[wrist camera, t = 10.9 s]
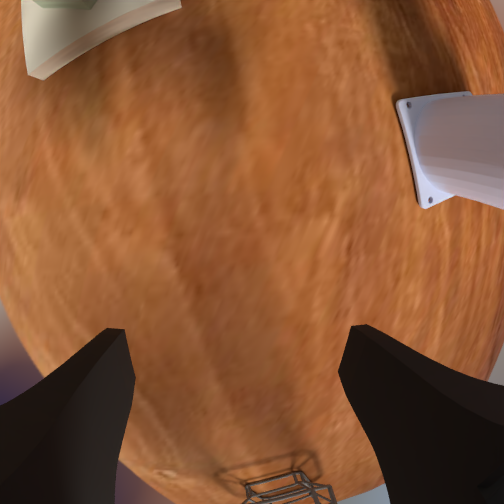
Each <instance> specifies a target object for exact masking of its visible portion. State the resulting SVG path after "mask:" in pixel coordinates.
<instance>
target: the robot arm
mask: <svg viewBox="0 0 504 504" xmlns="http://www.w3.org/2000/svg"><path fill="white" fill-rule="evenodd" d="M407 103H408V105H409V108H408V107H407ZM396 109H397V112H398V115H399V118H400V122H401V125H402V129H403V132H404V136H405V140H406V144H407V148H408V152H409V156H410V161H411V165H412V170H413V175H414V180H415V185H416V191H417V196H418V203H419V206H420V207H421V208H424V209H427V208H429V207H431V206H433V205H435V204H438V203H440V202H442V201H444V200H446V199H448V198H451V197H453V196H455V195H457V196H461V197H464V198H468V199H471V200H475V201H478V202H482V203H485V204H488V205H491V206H495V207H498V208H501V209H504V94H487V95H472V94H471V92H469V91H465V92H453V93H443V94H435V95H427V96H419V97H413V98H406V99H400V100H398V101H397V102H396ZM429 198H430V200H429V202H428V199H429ZM338 373H339V377H340V380H341V383H342V386H343V388H344V391H345V394H346V396H347V398H348V400H349V402H350V404H351V406H352V408H353V410H354V412H355V414H356V416H357V418H358V420H359V421H360V423H361V425H362V427H363V429H364V431H365V433H366V435H367V437H368V439H369V440H370V442H371V445H372V447H373V449H374V451H375V454H376V456H377V459H378V462H379V465H380V468H381V471H382V474H383V477H384V480H385V484H386V487H387V491H388V495H389V499H390V504H504V386H502V385H498V384H493V383H490V382H486V381H483V380H479V379H476V378H473V377H470V376H468V375H465V374H463V373H460V372H457V371H455V370H453V369H450V368H448V367H446V366H444V365H442V364H440V363H438V362H436V361H434V360H432V359H430V358H428V357H426V356H424V355H422V354H420V353H418V352H417V351H415V350H413V349H411V348H410V347H408V346H406V345H404V344H402V343H401V342H399V341H397V340H395V339H394V338H392V337H390V336H388V335H387V334H385V333H383V332H381V331H379V330H377V329H376V328H374V327H371V326H369V325H367V324H365V325H356V326H351V329H350V332H349V336H348V340H347V343H346V347H345V350H344V353H343V357H342V360H341V363H340V366H339V370H338ZM135 378H136V377H135V374H134V370H133V366H132V362H131V357H130V353H129V349H128V344H127V339H126V334H125V329H113V328H106V329H105V330H103V331H102V332H101V333H99V334H98V335H97V336H96V337H95V338H93V339H92V340H91V341H90V342H89V343H87V344H86V345H85V346H84V347H83V348H82V349H80V350H79V351H78V352H77V353H75V354H74V355H73V356H72V357H71V358H69V359H68V360H67V361H66V362H65V363H63V364H62V365H61V366H60V367H58V368H57V369H56V370H54V371H53V372H52V373H50V374H49V375H48V376H46V377H45V378H44V379H43V380H41V381H40V382H39V383H37V384H36V385H34V386H33V387H31V388H30V389H28V390H27V391H25V392H24V393H22V394H20V395H19V396H17V397H16V398H14V399H12V400H10V401H9V402H7V403H5V404H3V405H1V406H0V504H114V500H115V495H114V494H115V480H116V469H117V462H118V458H119V453H120V449H121V445H122V441H123V437H124V433H125V429H126V425H127V421H128V417H129V413H130V410H131V406H132V400H133V393H134V385H135Z"/></svg>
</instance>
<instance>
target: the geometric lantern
mask: <svg viewBox="0 0 504 504" xmlns="http://www.w3.org/2000/svg"><path fill="white" fill-rule="evenodd" d="M295 474H300V476H301V479H302V481H299V482H298V480H297V477H296V475H295ZM291 475H293V477H294V480H295V483H294V484H291V485H288V486H284V487H281V488H277V489H274V490H270V491H266V492H263V493H259V494H256V493H254V492H253V491H251V487H250V486H254V485H258V484H262V483H266V482H270V481H274V480H277V479H281V478H284V477H288V476H291ZM304 478H305V479H304ZM305 480H306V481H305ZM302 483H303V484H302ZM298 484H299V485H301V486H302V487H304V488H300V489H297V490H294V491H290V492H287V493H283V494H280V495H276V496H272V497H260V495H264V494H268V493H272V492H275V491H279V490H282V489H286V488H289V487H292V486H295V485H298ZM308 484H309V485H308ZM313 485H315V486H319V487H314V486H313ZM310 486H311V487H310ZM326 488H328V491H329V495H330V498H331V500H330V499H328V498H325V497H323V496H321V495H319V494H317V493H316V491H317V490H322V489H326ZM304 489H306V490H304ZM245 490H246V496H247V499H246V500H245V501H244V502H243V503H242V504H246V503H247V502H248V501H250V502H252V503H249V504H267V503H269V504H272V502H276V501H280V500H284V499H288V498H292V497H295V496H299V495H302V494H305V493H309V495H307V496H304V497H302V498H299V499H296V500H293V501H290V502H287V503H283V504H290V503H293V502H296V501H299V500H302V499H305V498H307V497H310V496H311V497H312V498H313V499H314V502H315V504H321V503H320V502H319V499H318V497H317V496H319V497H321V498H323V499H325V500H327V501H329V502H331V503H329V504H337V501H336V498H335V495H334V492H333V489H332V486H331V485H323V484H318V483H313V482H310V480H309V479H308V478H307V477H306V476H305V475H304V473H303V472H302V471H300V472H293V473H290V474H286V475H283V476H279V477H276V478H272V479H269V480H265V481H261V482H257V483H252V484H247V485H246V487H245ZM301 490H303V491H301ZM297 491H299V492H297ZM294 492H296V493H294ZM291 493H292V494H291ZM249 494H250V496H249ZM287 494H289V495H287ZM283 495H285V496H283ZM280 496H281V497H280ZM251 497H258V498H260V499H262V501H259V502H255V501H253V500H251V499H250V498H251ZM276 497H277V498H276ZM272 498H273V499H272ZM264 499H268V500H264Z"/></svg>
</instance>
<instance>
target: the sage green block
mask: <svg viewBox="0 0 504 504" xmlns="http://www.w3.org/2000/svg"><path fill="white" fill-rule="evenodd" d="M32 1H34V2H35V3H36V4H38V5H39V6H40V7H42V8H67V9H85V10H91V9H92V7H93V6H94V4H95V3H96V2H97V0H32Z"/></svg>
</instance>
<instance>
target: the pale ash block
mask: <svg viewBox="0 0 504 504" xmlns="http://www.w3.org/2000/svg"><path fill="white" fill-rule="evenodd" d="M21 8H22V30H23V42H24V51H25V59H26V66H27V72H28V75H30V76H32V77H35V78H38V79H41V80H43V81H44V80H45V79H46V78H48V77H49V76H50V75H52V74H53V73H55V72H56V71H57V70H59V69H60V68H62V67H63V66H65V65H66V64H68V63H69V62H71V61H72V60H74V59H75V58H77V57H78V56H80V55H82V54H83V53H85V52H87V51H88V50H90V49H92V48H93V47H95V46H97V45H99V44H101V43H102V42H104V41H106V40H108V39H110V38H112V37H114V36H116V35H118V34H120V33H122V32H124V31H126V30H128V29H130V28H132V27H134V26H137V25H139V24H141V23H143V22H146V21H148V20H150V19H153V18H155V17H158V16H160V15H163V14H166V13H168V12H171V11H174V10H177V9H180V8H182V6H181V1H180V0H97V2H96V3H95V4H94V6H93V7H92V9H91V10H85V9H67V8H42V7H40V6H39V5H38V4H36V3H35V2H34V1H32V0H21Z"/></svg>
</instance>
